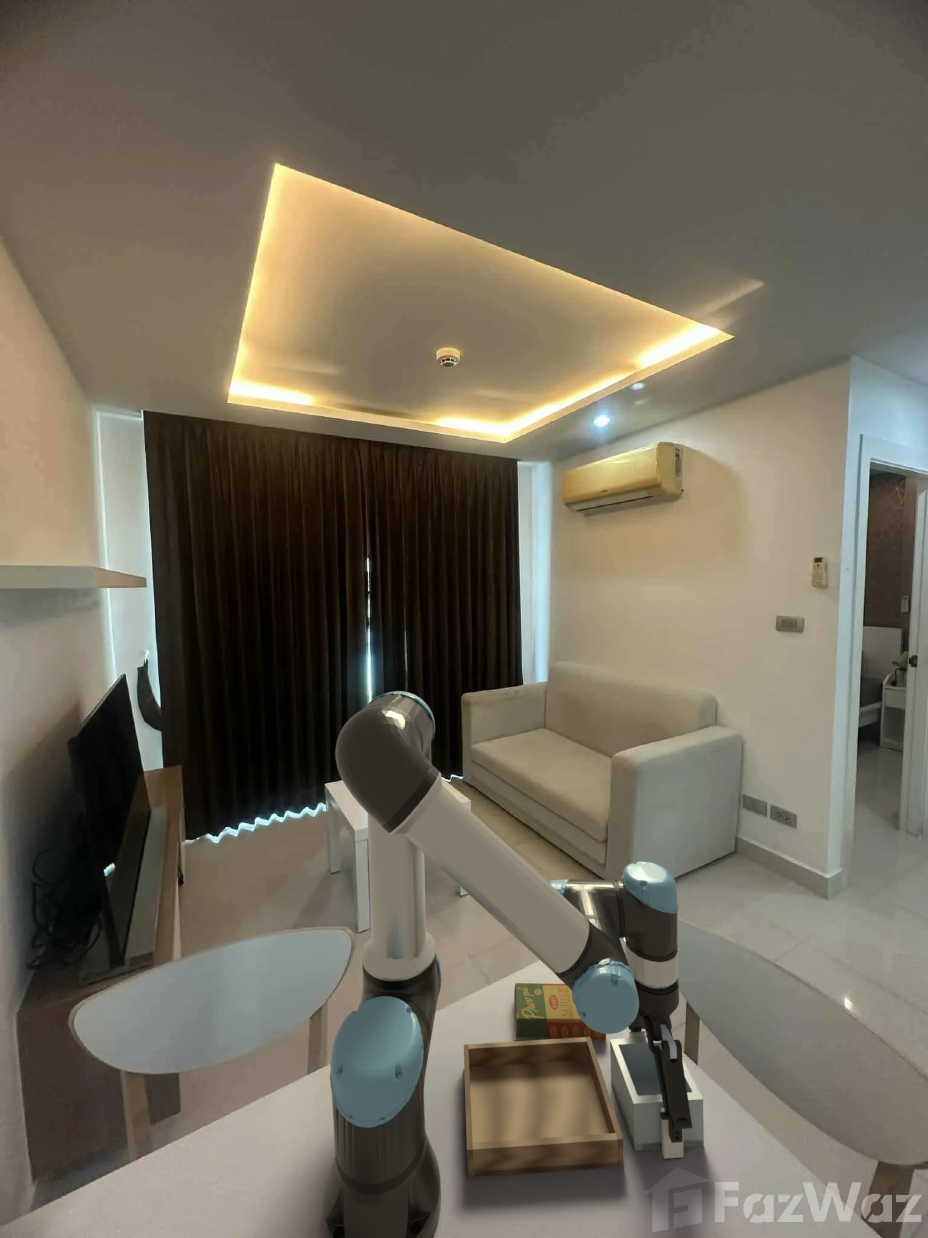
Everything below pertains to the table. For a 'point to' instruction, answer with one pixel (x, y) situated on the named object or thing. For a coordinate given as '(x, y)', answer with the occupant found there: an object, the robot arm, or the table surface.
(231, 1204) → the table surface
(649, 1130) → the small crate
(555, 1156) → the crate
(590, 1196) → the table surface
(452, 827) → the robot arm
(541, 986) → the carton
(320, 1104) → the table surface
